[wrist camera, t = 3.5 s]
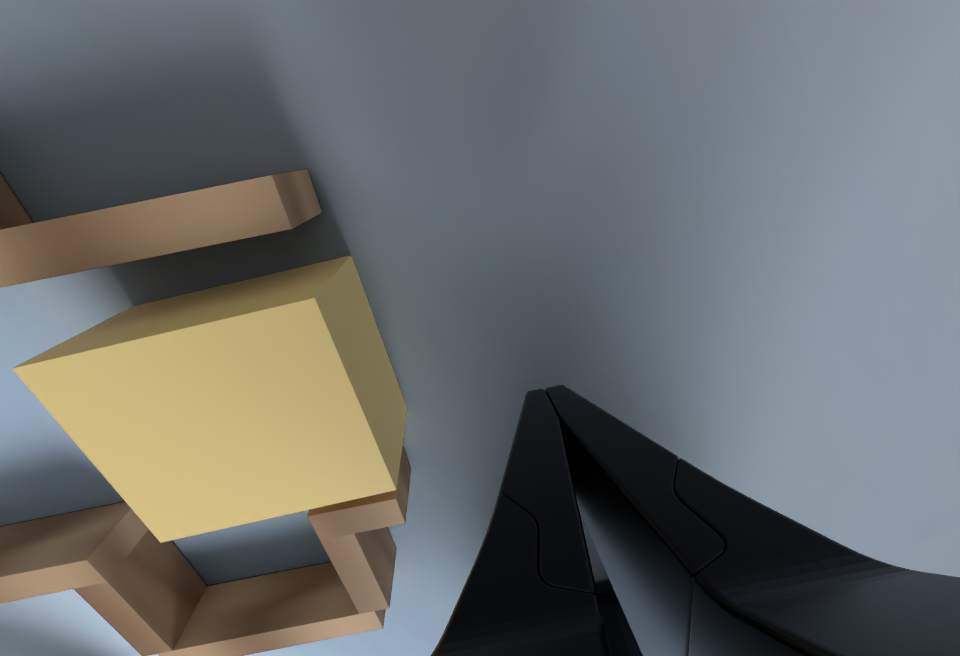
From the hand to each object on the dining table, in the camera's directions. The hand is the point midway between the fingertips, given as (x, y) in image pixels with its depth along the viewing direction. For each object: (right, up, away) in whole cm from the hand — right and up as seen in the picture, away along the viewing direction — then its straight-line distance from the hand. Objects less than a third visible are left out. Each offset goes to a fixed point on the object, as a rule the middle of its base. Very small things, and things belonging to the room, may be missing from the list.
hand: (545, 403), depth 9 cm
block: (-8, +1, +5) cm, 9 cm away
